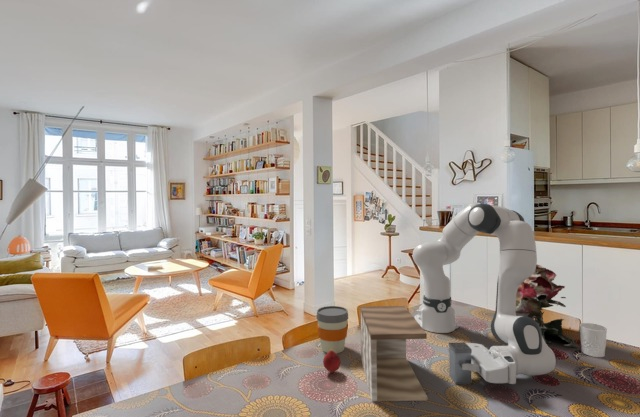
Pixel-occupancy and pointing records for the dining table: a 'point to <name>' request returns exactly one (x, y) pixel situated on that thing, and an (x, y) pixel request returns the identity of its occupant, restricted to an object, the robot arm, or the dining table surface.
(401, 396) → the wooden cubby shelf
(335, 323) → the reusable coffee cup
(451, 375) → the tea tin
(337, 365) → the red rounded piece
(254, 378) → the dining table surface
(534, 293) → the rose bouquet
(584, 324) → the white cup
